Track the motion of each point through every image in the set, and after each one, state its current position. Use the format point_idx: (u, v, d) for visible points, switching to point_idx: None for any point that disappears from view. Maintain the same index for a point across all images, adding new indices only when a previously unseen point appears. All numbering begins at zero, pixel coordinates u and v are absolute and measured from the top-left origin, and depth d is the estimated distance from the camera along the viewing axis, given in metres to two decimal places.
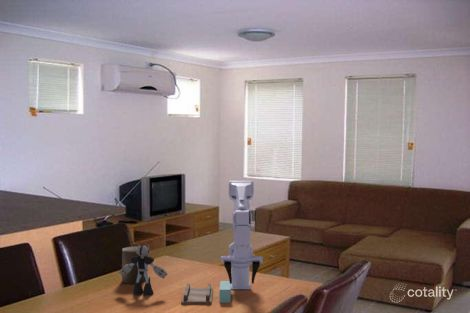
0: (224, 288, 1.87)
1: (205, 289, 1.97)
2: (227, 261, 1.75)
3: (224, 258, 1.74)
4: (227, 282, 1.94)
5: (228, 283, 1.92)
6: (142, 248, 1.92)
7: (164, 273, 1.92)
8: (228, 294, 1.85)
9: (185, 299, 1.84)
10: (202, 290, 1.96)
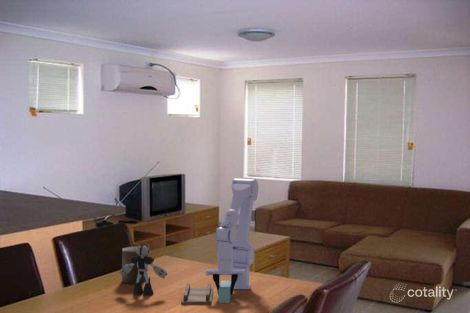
0: (223, 288, 1.86)
1: (205, 289, 1.97)
2: (216, 274, 1.89)
3: (209, 271, 1.89)
4: (227, 282, 1.94)
5: (228, 283, 1.92)
6: (142, 248, 1.92)
7: (164, 273, 1.92)
8: (227, 294, 1.85)
9: (185, 299, 1.84)
10: (202, 290, 1.96)
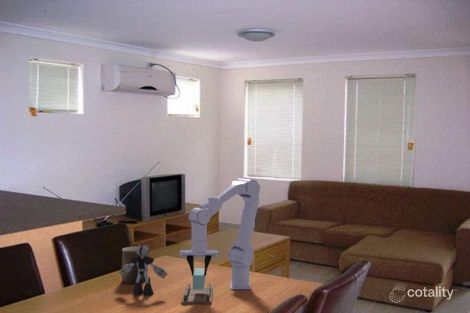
0: (198, 274, 1.86)
1: (205, 289, 1.97)
2: (190, 255, 1.89)
3: (182, 252, 1.89)
4: (201, 269, 1.94)
5: (202, 270, 1.92)
6: (142, 248, 1.92)
7: (164, 273, 1.92)
8: (201, 280, 1.85)
9: (185, 299, 1.84)
10: (202, 290, 1.96)
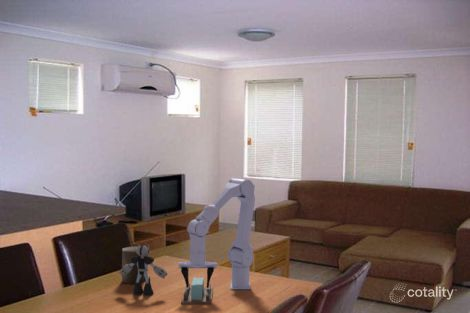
0: (196, 284, 1.87)
1: (205, 289, 1.97)
2: (184, 267, 1.90)
3: (181, 264, 1.89)
4: (200, 279, 1.94)
5: (200, 280, 1.92)
6: (142, 248, 1.92)
7: (164, 273, 1.92)
8: (200, 291, 1.85)
9: (185, 299, 1.84)
10: None
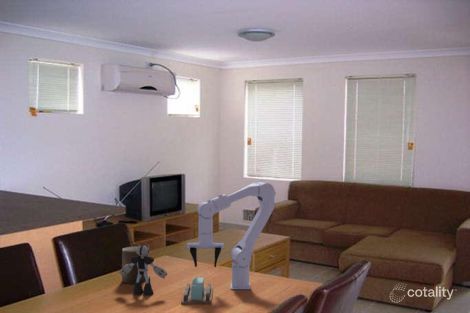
0: (196, 284, 1.87)
1: (205, 289, 1.97)
2: (193, 247, 1.98)
3: (190, 244, 1.98)
4: (200, 279, 1.94)
5: (200, 280, 1.92)
6: (142, 248, 1.92)
7: (164, 273, 1.92)
8: (200, 291, 1.85)
9: (185, 299, 1.84)
10: None
